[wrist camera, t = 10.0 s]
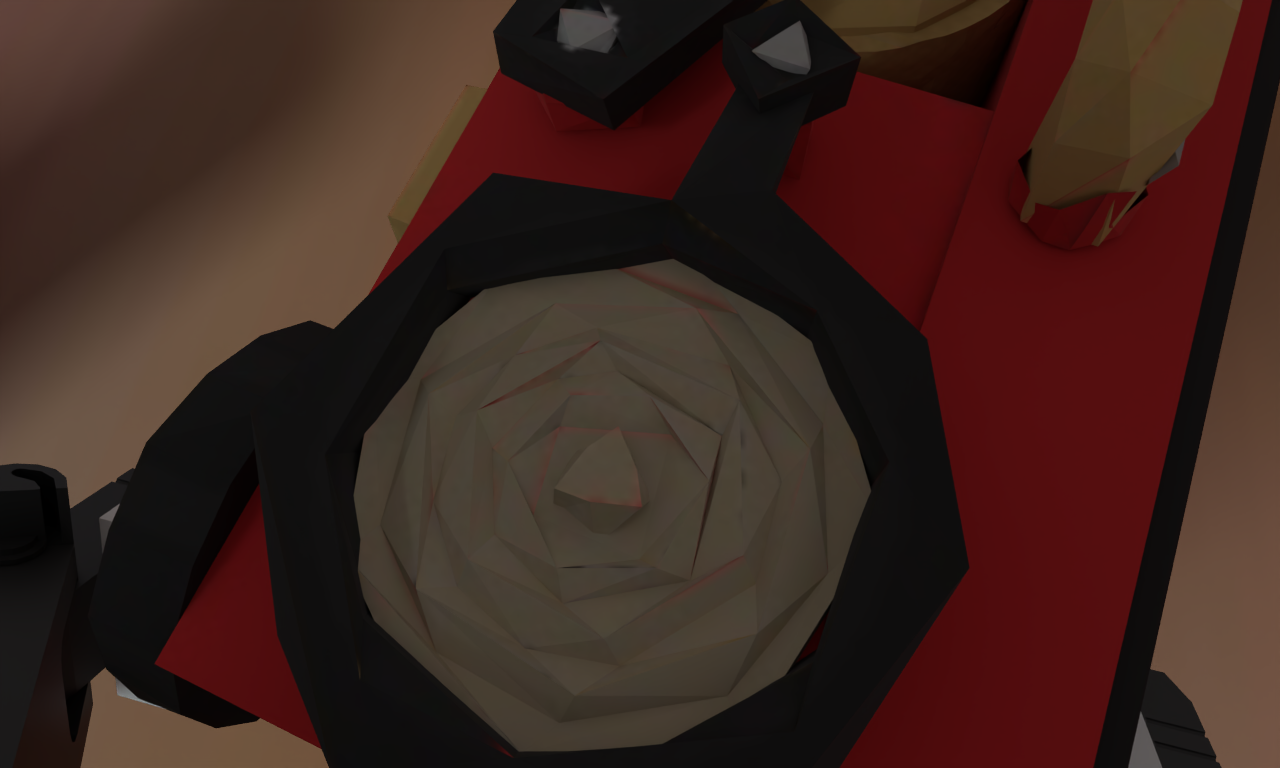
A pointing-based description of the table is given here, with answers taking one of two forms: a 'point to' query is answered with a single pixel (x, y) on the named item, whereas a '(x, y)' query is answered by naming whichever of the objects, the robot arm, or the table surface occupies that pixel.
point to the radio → (732, 402)
